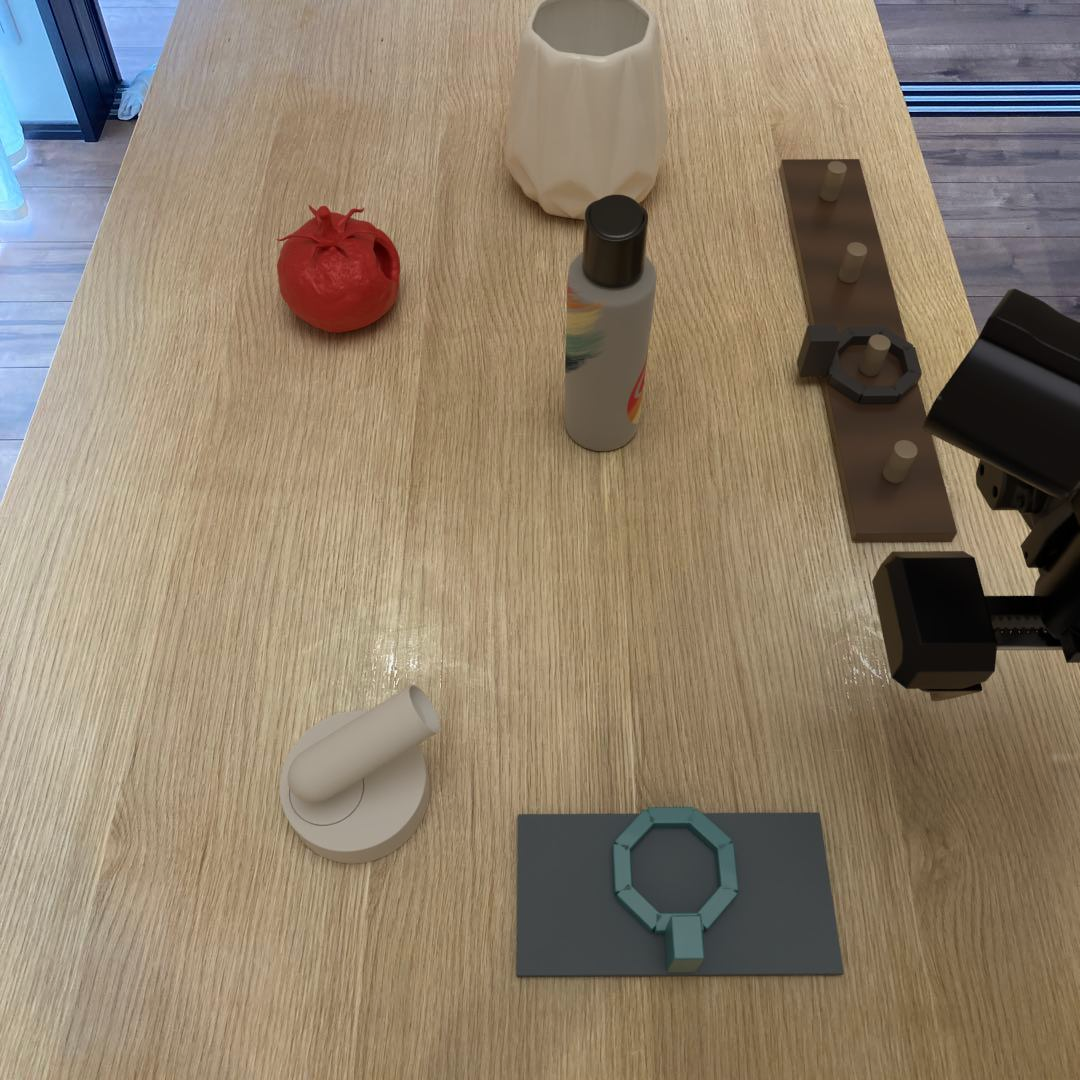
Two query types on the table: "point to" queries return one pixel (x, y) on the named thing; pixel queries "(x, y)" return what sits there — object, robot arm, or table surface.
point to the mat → (674, 897)
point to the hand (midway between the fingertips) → (1020, 691)
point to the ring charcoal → (824, 362)
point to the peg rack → (864, 358)
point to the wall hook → (361, 779)
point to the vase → (586, 104)
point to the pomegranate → (338, 271)
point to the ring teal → (676, 927)
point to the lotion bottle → (608, 325)
